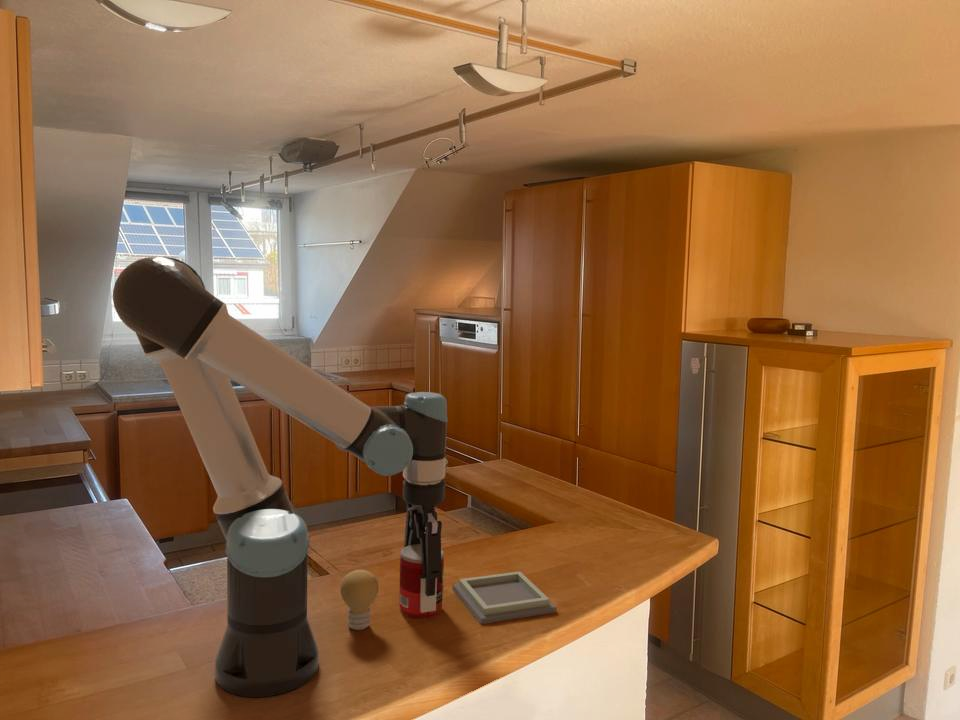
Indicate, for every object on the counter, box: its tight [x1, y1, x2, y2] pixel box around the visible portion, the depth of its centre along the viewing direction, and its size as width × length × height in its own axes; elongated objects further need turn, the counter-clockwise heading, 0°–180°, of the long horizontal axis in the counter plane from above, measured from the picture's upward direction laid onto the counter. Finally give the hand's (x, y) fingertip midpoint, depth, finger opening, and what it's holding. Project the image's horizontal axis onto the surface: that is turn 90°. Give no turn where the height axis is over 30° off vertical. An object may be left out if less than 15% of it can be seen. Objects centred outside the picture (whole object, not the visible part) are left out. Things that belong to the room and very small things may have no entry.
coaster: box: [452, 571, 557, 625], centre depth 136 cm, size 15×15×2 cm
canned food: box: [398, 544, 445, 619], centre depth 131 cm, size 8×8×11 cm
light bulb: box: [340, 569, 379, 631], centre depth 123 cm, size 6×6×10 cm
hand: (420, 600), depth 131 cm, fingers closed on canned food, 8 cm apart
